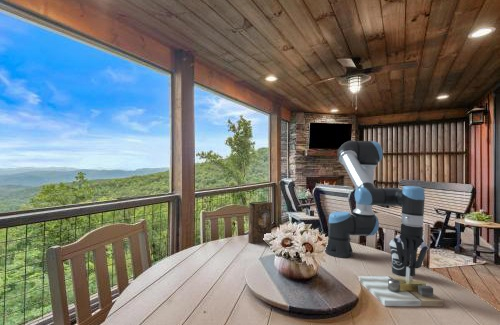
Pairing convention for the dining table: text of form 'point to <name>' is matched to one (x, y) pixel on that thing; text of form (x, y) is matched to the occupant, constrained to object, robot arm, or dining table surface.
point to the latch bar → (404, 285)
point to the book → (259, 221)
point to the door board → (399, 293)
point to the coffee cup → (396, 259)
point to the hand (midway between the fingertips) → (408, 282)
